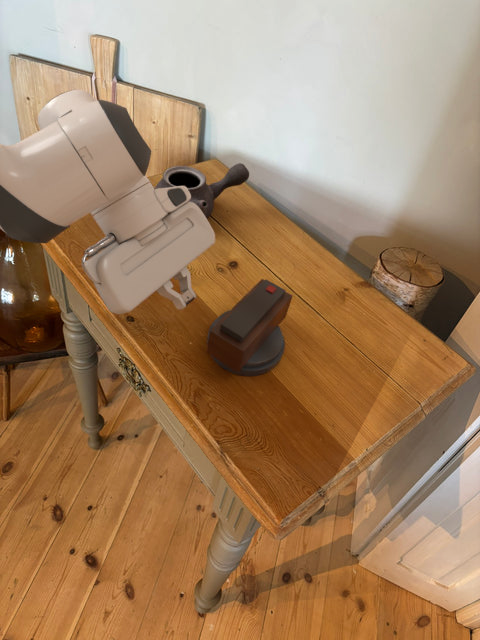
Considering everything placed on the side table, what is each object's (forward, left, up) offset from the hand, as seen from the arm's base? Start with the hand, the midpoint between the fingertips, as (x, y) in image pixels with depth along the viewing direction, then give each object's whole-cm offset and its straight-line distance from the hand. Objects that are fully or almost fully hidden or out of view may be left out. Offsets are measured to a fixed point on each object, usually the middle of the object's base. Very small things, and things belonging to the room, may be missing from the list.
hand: (187, 303), depth 66 cm
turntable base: (+8, +5, -7) cm, 12 cm away
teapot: (-18, +28, -7) cm, 34 cm away
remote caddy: (+8, +5, -6) cm, 11 cm away
